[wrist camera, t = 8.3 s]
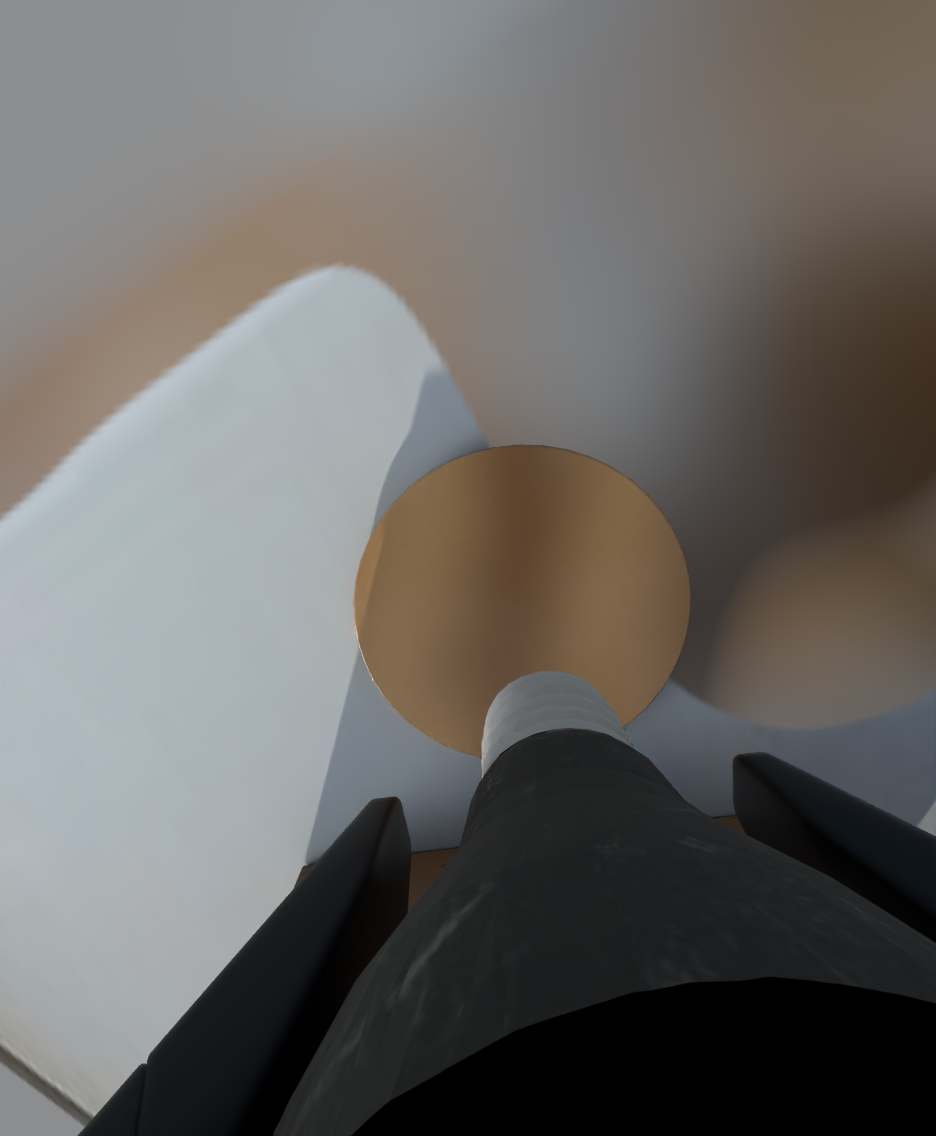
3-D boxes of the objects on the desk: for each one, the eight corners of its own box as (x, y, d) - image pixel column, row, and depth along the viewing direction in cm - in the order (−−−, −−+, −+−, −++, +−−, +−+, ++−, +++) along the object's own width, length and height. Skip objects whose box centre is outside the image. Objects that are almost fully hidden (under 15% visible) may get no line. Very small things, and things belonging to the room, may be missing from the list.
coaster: (675, 416, 12) (685, 414, 12) (688, 729, 15) (697, 741, 14) (322, 476, 13) (315, 478, 12) (394, 767, 15) (391, 779, 15)
